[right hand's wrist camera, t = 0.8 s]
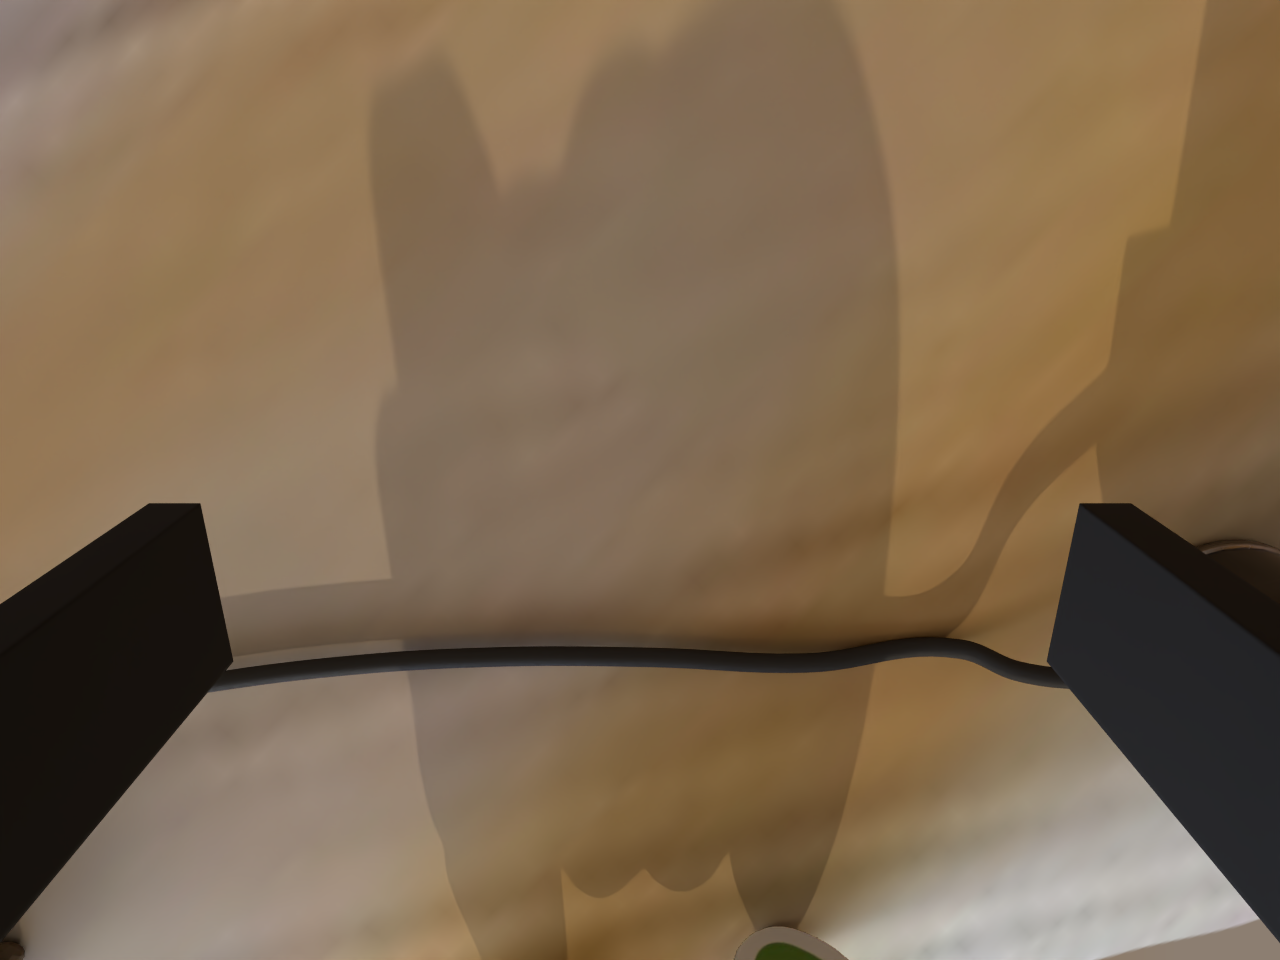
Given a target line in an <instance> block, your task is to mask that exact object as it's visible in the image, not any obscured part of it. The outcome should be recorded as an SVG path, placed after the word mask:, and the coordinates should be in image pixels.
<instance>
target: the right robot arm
mask: <svg viewBox="0 0 1280 960" xmlns="http://www.w3.org/2000/svg"><path fill="white" fill-rule="evenodd" d="M232 662H233V658H232V653H231V648H230V643H229V639H228V634H227V629H226V624H225V619H224V615H223V610H222V605H221V600H220V595H219V591H218V586H217V581H216V576H215V571H214V567H213V562H212V557H211V552H210V547H209V543H208V538H207V533H206V528H205V523H204V519H203V514H202V509H201V504H200V503H149V504H147V505H146V506H144V507H143V508H142V509H140V510H139V511H137V512H136V513H134V514H133V515H131V516H130V517H128V518H127V519H125V520H124V521H122V522H121V523H119V524H118V525H116V526H115V527H114V528H112V529H111V530H109V531H108V532H106V533H105V534H103V535H102V536H100V537H99V538H97V539H96V540H94V541H93V542H91V543H90V544H88V545H87V546H86V547H84V548H83V549H81V550H80V551H78V552H77V553H75V554H74V555H72V556H71V557H69V558H68V559H66V560H65V561H63V562H62V563H60V564H59V565H58V566H56V567H55V568H53V569H52V570H50V571H49V572H47V573H46V574H44V575H43V576H41V577H40V578H38V579H37V580H35V581H34V582H32V583H31V584H30V585H28V586H27V587H25V588H24V589H22V590H21V591H19V592H18V593H16V594H15V595H13V596H12V597H10V598H9V599H7V600H6V601H4V602H3V603H2V604H0V942H1V941H2V940H3V939H4V938H5V936H6V935H7V934H8V933H9V931H10V930H11V929H12V928H13V927H14V925H15V924H16V923H17V922H18V921H19V919H20V918H21V917H22V916H23V915H24V913H25V912H26V911H27V910H28V909H29V907H30V906H31V905H32V904H33V903H34V901H35V900H36V899H37V898H38V896H39V895H40V894H41V893H42V892H43V890H44V889H45V888H46V887H47V886H48V884H49V883H50V882H51V881H52V880H53V878H54V877H55V876H56V875H57V874H58V872H59V871H60V870H61V869H62V867H63V866H64V865H65V864H66V863H67V861H68V860H69V859H70V858H71V857H72V855H73V854H74V853H75V852H76V851H77V849H78V848H79V847H80V846H81V845H82V843H83V842H84V841H85V840H86V839H87V837H88V836H89V835H90V834H91V832H92V831H93V830H94V829H95V828H96V826H97V825H98V824H99V823H100V822H101V820H102V819H103V818H104V817H105V816H106V814H107V813H108V812H109V811H110V810H111V808H112V807H113V806H114V805H115V804H116V802H117V801H118V800H119V799H120V797H121V796H122V795H123V794H124V793H125V791H126V790H127V789H128V788H129V787H130V785H131V784H132V783H133V782H134V781H135V779H136V778H137V777H138V776H139V775H140V773H141V772H142V771H143V770H144V768H145V767H146V766H147V765H148V764H149V762H150V761H151V760H152V759H153V758H154V756H155V755H156V754H157V753H158V752H159V750H160V749H161V748H162V747H163V746H164V744H165V743H166V742H167V741H168V740H169V738H170V737H171V736H172V735H173V733H174V732H175V731H176V730H177V729H178V727H179V726H180V725H181V724H182V723H183V721H184V720H185V719H186V718H187V717H188V715H189V714H190V713H191V712H192V711H193V709H194V708H195V707H196V706H197V705H198V703H199V702H200V701H201V700H202V698H203V697H204V696H205V695H206V694H207V692H208V691H209V690H210V689H211V688H212V686H213V685H214V684H215V683H216V682H217V680H218V679H219V678H220V677H221V676H222V674H223V673H224V672H225V671H226V670H227V668H228V667H229V666H230V665H231V663H232ZM1047 662H1048V663H1049V665H1050V666H1051V667H1052V668H1053V670H1054V671H1055V672H1056V673H1057V674H1058V676H1059V677H1060V678H1061V679H1062V680H1063V682H1064V683H1065V684H1066V685H1067V686H1068V688H1069V689H1070V690H1071V691H1072V692H1073V694H1074V695H1075V696H1076V697H1077V698H1078V700H1079V701H1080V702H1081V703H1082V705H1083V706H1084V707H1085V708H1086V709H1087V711H1088V712H1089V713H1090V714H1091V715H1092V717H1093V718H1094V719H1095V720H1096V721H1097V723H1098V724H1099V725H1100V726H1101V727H1102V729H1103V730H1104V731H1105V732H1106V733H1107V735H1108V736H1109V737H1110V738H1111V740H1112V741H1113V742H1114V743H1115V744H1116V746H1117V747H1118V748H1119V749H1120V750H1121V752H1122V753H1123V754H1124V755H1125V756H1126V758H1127V759H1128V760H1129V761H1130V762H1131V764H1132V765H1133V766H1134V767H1135V769H1136V770H1137V771H1138V772H1139V773H1140V775H1141V776H1142V777H1143V778H1144V779H1145V781H1146V782H1147V783H1148V784H1149V785H1150V787H1151V788H1152V789H1153V790H1154V791H1155V793H1156V794H1157V795H1158V796H1159V797H1160V799H1161V800H1162V801H1163V802H1164V804H1165V805H1166V806H1167V807H1168V808H1169V810H1170V811H1171V812H1172V813H1173V814H1174V816H1175V817H1176V818H1177V819H1178V820H1179V822H1180V823H1181V824H1182V825H1183V826H1184V828H1185V829H1186V830H1187V831H1188V832H1189V834H1190V835H1191V836H1192V837H1193V839H1194V840H1195V841H1196V842H1197V843H1198V845H1199V846H1200V847H1201V848H1202V849H1203V851H1204V852H1205V853H1206V854H1207V855H1208V857H1209V858H1210V859H1211V860H1212V861H1213V863H1214V864H1215V865H1216V866H1217V867H1218V869H1219V870H1220V871H1221V872H1222V874H1223V875H1224V876H1225V877H1226V878H1227V880H1228V881H1229V882H1230V883H1231V884H1232V886H1233V887H1234V888H1235V889H1236V890H1237V892H1238V893H1239V894H1240V895H1241V896H1242V898H1243V899H1244V900H1245V901H1246V903H1247V904H1248V905H1249V906H1250V907H1251V909H1252V910H1253V911H1254V912H1255V913H1256V915H1257V916H1258V917H1259V918H1260V919H1261V921H1262V922H1263V923H1264V924H1265V925H1266V927H1267V928H1268V929H1269V930H1270V931H1271V933H1272V934H1273V935H1274V936H1275V938H1276V939H1277V940H1278V941H1279V942H1280V604H1278V603H1277V602H1276V601H1274V600H1273V599H1271V598H1270V597H1268V596H1267V595H1265V594H1264V593H1262V592H1261V591H1259V590H1258V589H1256V588H1255V587H1253V586H1252V585H1250V584H1249V583H1248V582H1246V581H1245V580H1243V579H1242V578H1240V577H1239V576H1237V575H1236V574H1234V573H1233V572H1231V571H1230V570H1228V569H1227V568H1225V567H1224V566H1222V565H1221V564H1220V563H1218V562H1217V561H1215V560H1214V559H1212V558H1211V557H1209V556H1208V555H1206V554H1205V553H1203V552H1202V551H1200V550H1199V549H1197V548H1196V547H1194V546H1193V545H1192V544H1190V543H1189V542H1187V541H1186V540H1184V539H1183V538H1181V537H1180V536H1178V535H1177V534H1175V533H1174V532H1172V531H1171V530H1169V529H1168V528H1166V527H1165V526H1164V525H1162V524H1161V523H1159V522H1158V521H1156V520H1155V519H1153V518H1152V517H1150V516H1149V515H1147V514H1146V513H1144V512H1143V511H1141V510H1140V509H1138V508H1137V507H1136V506H1134V505H1133V504H1131V503H1080V504H1079V509H1078V514H1077V519H1076V523H1075V528H1074V533H1073V538H1072V543H1071V547H1070V552H1069V557H1068V562H1067V567H1066V571H1065V576H1064V581H1063V586H1062V591H1061V595H1060V600H1059V605H1058V610H1057V615H1056V619H1055V624H1054V629H1053V634H1052V639H1051V643H1050V648H1049V653H1048V658H1047Z"/></svg>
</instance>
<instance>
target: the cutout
mask: <svg viewBox="0 0 1280 960" xmlns="http://www.w3.org/2000/svg"><path fill="white" fill-rule="evenodd" d="M734 960H848V959H847V958H846V957H844V956H843V955H842V954H841V953H840V952H839V951H837V950H836V949H835V948H833V947H832V946H830V945H829V944H827V943H826V942H824V941H821V940H820V939H818V938H817V937H814V936H812V935H810V934H807V933H806V932H802V931H799V930H796V929H794V928H787V927H783V926H781V927H776V926H774V927H768V928H764V929H763V930H759V931H756V932H755V933H752V934H751V935H750V936H749V937H748V938H746V939H745V940H744V942H742V945H740V946H739V947H738V949H737V951H736V955H735V958H734Z"/></svg>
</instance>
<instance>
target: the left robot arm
mask: <svg viewBox="0 0 1280 960" xmlns="http://www.w3.org/2000/svg"><path fill="white" fill-rule="evenodd" d="M1196 548H1197V549H1199V550H1200V551H1202V552H1203V553H1205V554H1206V555H1208V556H1209V557H1211V558H1212V559H1214V560H1215V561H1217V562H1218V563H1220V564H1221V565H1222V566H1224V567H1225V568H1227V569H1228V570H1230V571H1231V572H1233V573H1234V574H1236V575H1237V576H1239V577H1240V578H1242V579H1243V580H1245V581H1246V582H1248V583H1249V584H1250V585H1252V586H1253V587H1255V588H1256V589H1258V590H1259V591H1261V592H1262V593H1264V594H1265V595H1267V596H1268V597H1270V598H1271V599H1273V600H1274V601H1276V602H1277V603H1278V604H1280V550H1278V549H1276V548H1274V547H1272V546H1269V545H1266V544H1263V543H1259V542H1254V541H1246V540H1227V541H1219V542H1213V543H1209V544H1205V545H1202V546H1199V547H1196ZM928 656H934V657H949V658H958V659H964V660H968V661H971V662H974V663H976V664H978V665H981V666H983V667H984V668H986V669H988V670H990V671H992V672H994V673H996V674H998V675H1001V676H1003V677H1005V678H1008V679H1011V680H1015V681H1018V682H1023V683H1027V684H1033V685H1038V686H1045V687H1054V688H1066V689H1069V688H1068V686H1067V685H1066V684H1065V683H1064V682H1063V680H1062V679H1061V678H1060V677H1059V676H1058V674H1057V673H1056V672H1055V671H1054V670H1053V668H1052V667H1047V666H1040V665H1034V664H1029V663H1024V662H1020V661H1016V660H1013V659H1010V658H1008V657H1006V656H1003V655H1001V654H999V653H997V652H995V651H993V650H991V649H989V648H987V647H985V646H983V645H980V644H977V643H974V642H971V641H966V640H960V639H951V638H935V637H926V638H908V639H900V640H892V641H887V642H881V643H876V644H871V645H866V646H861V647H855V648H850V649H844V650H837V651H830V652H821V653H800V654H771V653H743V652H726V651H710V650H694V649H673V648H635V647H566V646H548V647H492V648H462V649H438V650H419V651H403V652H389V653H376V654H364V655H353V656H342V657H332V658H322V659H312V660H303V661H294V662H285V663H277V664H270V665H262V666H255V667H247V668H240V669H233V670H227V671H225V672H224V673H223V674H222V676H221V677H220V678H219V679H218V680H217V682H216V683H215V684H214V685H213V686H212V688H211V689H210V690H209V691H208V692H215V691H221V690H228V689H235V688H242V687H249V686H256V685H264V684H271V683H279V682H287V681H296V680H305V679H314V678H324V677H334V676H345V675H356V674H367V673H379V672H392V671H406V670H423V669H443V668H468V667H501V666H624V667H667V668H689V669H706V670H722V671H739V672H763V673H807V672H823V671H832V670H840V669H846V668H852V667H858V666H863V665H868V664H873V663H878V662H883V661H889V660H894V659H901V658H910V657H928ZM208 692H207V693H208Z"/></svg>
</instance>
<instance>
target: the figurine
mask: <svg viewBox="0 0 1280 960" xmlns="http://www.w3.org/2000/svg"><path fill="white" fill-rule="evenodd" d="M24 952H25V951H24V948H23V947H22V946H21V945H19V944H17V943H14V942H0V960H22V959H23V958H24Z"/></svg>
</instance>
